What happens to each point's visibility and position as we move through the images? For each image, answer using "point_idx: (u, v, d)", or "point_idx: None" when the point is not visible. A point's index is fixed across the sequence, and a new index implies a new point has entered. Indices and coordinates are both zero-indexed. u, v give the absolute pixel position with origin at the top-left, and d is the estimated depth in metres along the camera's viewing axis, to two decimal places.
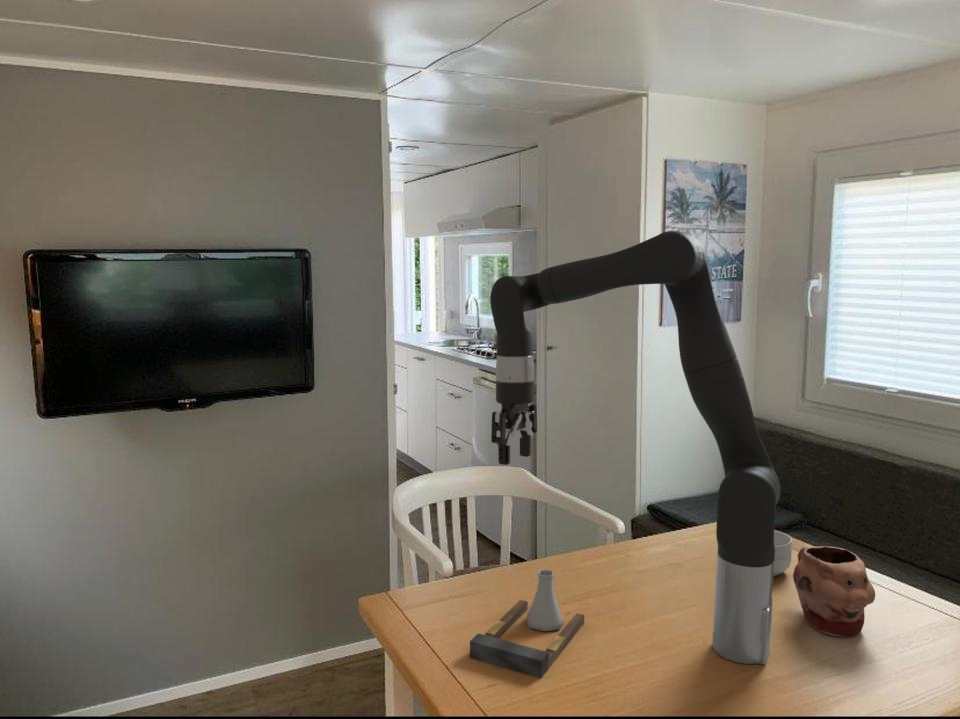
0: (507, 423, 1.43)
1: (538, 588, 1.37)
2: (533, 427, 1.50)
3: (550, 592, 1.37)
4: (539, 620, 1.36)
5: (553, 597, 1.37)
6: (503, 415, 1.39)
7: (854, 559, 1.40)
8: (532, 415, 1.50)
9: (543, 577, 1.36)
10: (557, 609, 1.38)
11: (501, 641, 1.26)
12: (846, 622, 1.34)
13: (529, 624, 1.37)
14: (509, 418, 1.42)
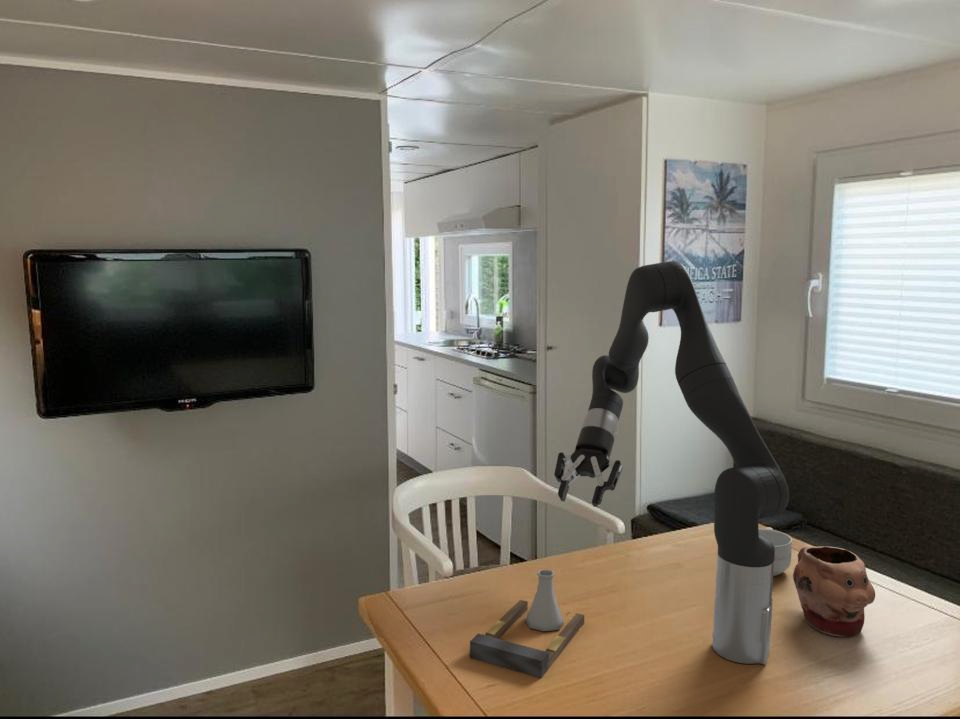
0: None
1: (538, 588, 1.37)
2: (608, 478, 1.52)
3: (550, 592, 1.37)
4: (539, 620, 1.36)
5: (553, 597, 1.37)
6: (559, 454, 1.59)
7: (854, 559, 1.40)
8: None
9: (543, 577, 1.36)
10: (557, 609, 1.38)
11: (501, 641, 1.26)
12: (846, 622, 1.34)
13: (529, 624, 1.37)
14: (571, 458, 1.58)
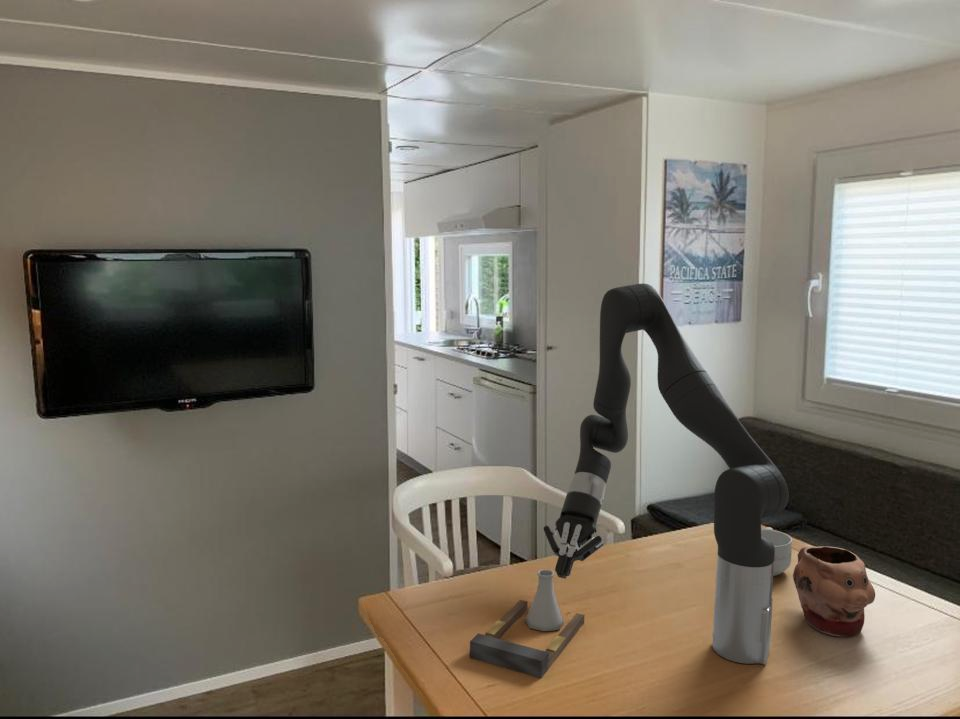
0: None
1: (538, 588, 1.37)
2: None
3: (550, 592, 1.37)
4: (539, 620, 1.36)
5: (553, 597, 1.37)
6: (544, 528, 1.52)
7: (854, 559, 1.40)
8: None
9: (543, 577, 1.36)
10: (557, 609, 1.38)
11: (501, 641, 1.26)
12: (846, 622, 1.34)
13: (529, 624, 1.37)
14: (556, 524, 1.52)
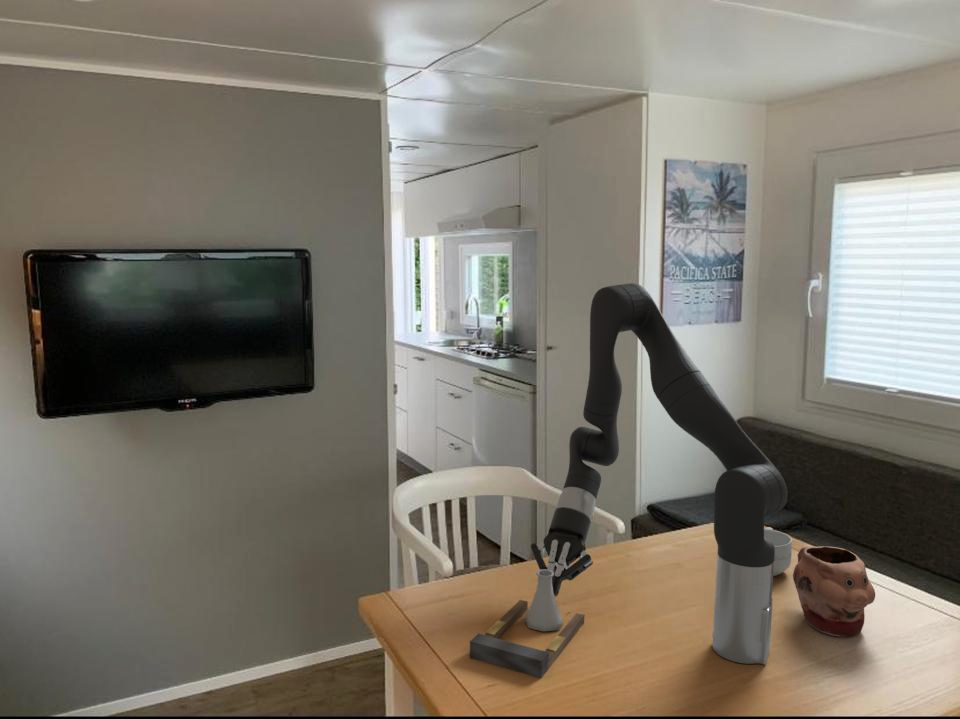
0: None
1: (537, 588, 1.37)
2: None
3: (549, 592, 1.36)
4: (539, 620, 1.36)
5: (552, 597, 1.37)
6: (531, 546, 1.46)
7: (854, 559, 1.40)
8: None
9: (542, 577, 1.36)
10: (557, 609, 1.38)
11: (501, 641, 1.26)
12: (846, 622, 1.34)
13: (528, 624, 1.37)
14: (544, 542, 1.46)
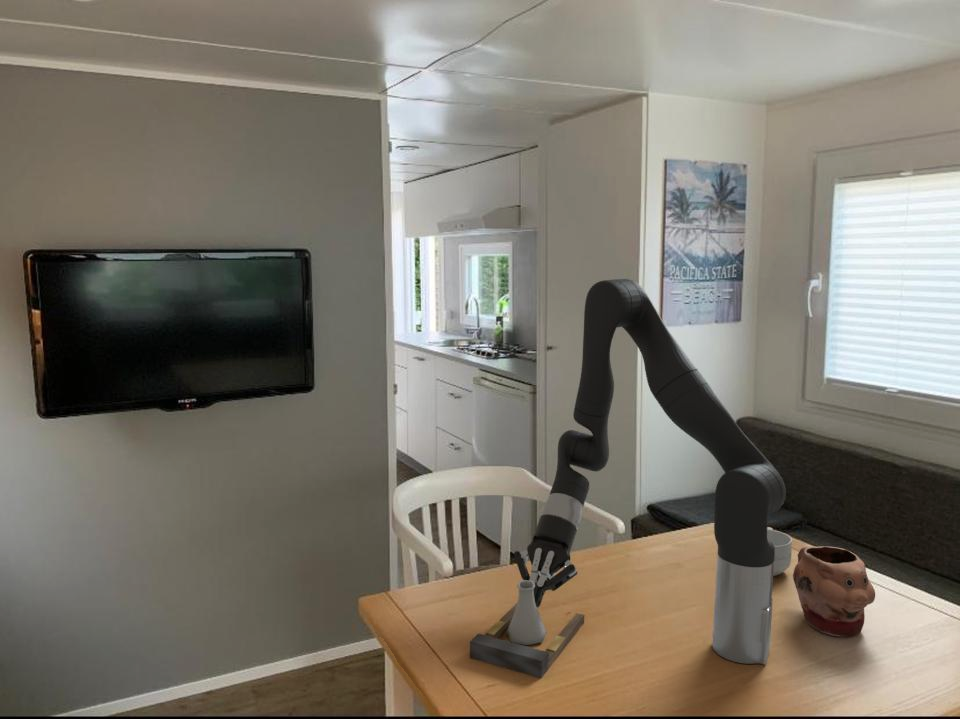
0: None
1: (519, 601, 1.32)
2: None
3: (532, 604, 1.31)
4: (522, 633, 1.31)
5: (535, 609, 1.32)
6: (514, 554, 1.41)
7: (854, 559, 1.40)
8: None
9: (523, 590, 1.30)
10: (540, 620, 1.33)
11: (501, 641, 1.26)
12: (846, 622, 1.34)
13: (511, 638, 1.32)
14: (527, 550, 1.41)
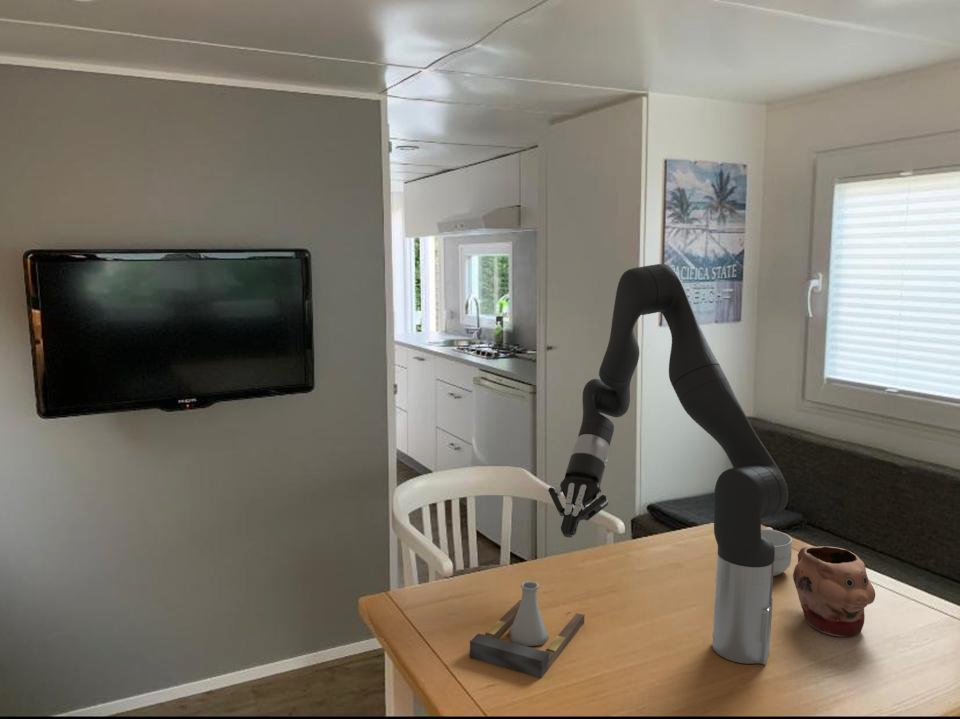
0: None
1: (522, 601, 1.32)
2: None
3: (534, 605, 1.31)
4: (522, 634, 1.31)
5: (537, 611, 1.32)
6: (549, 490, 1.53)
7: (854, 559, 1.40)
8: None
9: (526, 589, 1.31)
10: (542, 623, 1.32)
11: (501, 641, 1.26)
12: (846, 622, 1.34)
13: (512, 638, 1.32)
14: (560, 486, 1.53)
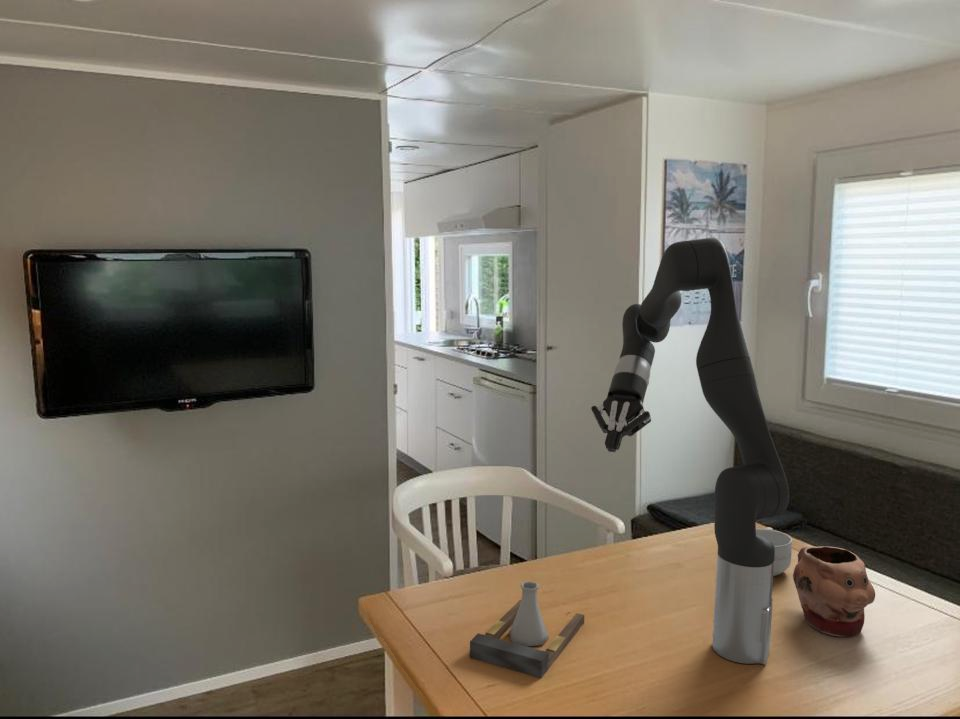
0: None
1: (521, 601, 1.32)
2: None
3: (534, 605, 1.31)
4: (522, 634, 1.31)
5: (537, 611, 1.32)
6: (592, 408, 1.55)
7: (854, 559, 1.40)
8: None
9: (526, 589, 1.31)
10: (542, 623, 1.32)
11: (501, 641, 1.26)
12: (846, 622, 1.34)
13: (512, 638, 1.32)
14: (603, 404, 1.55)
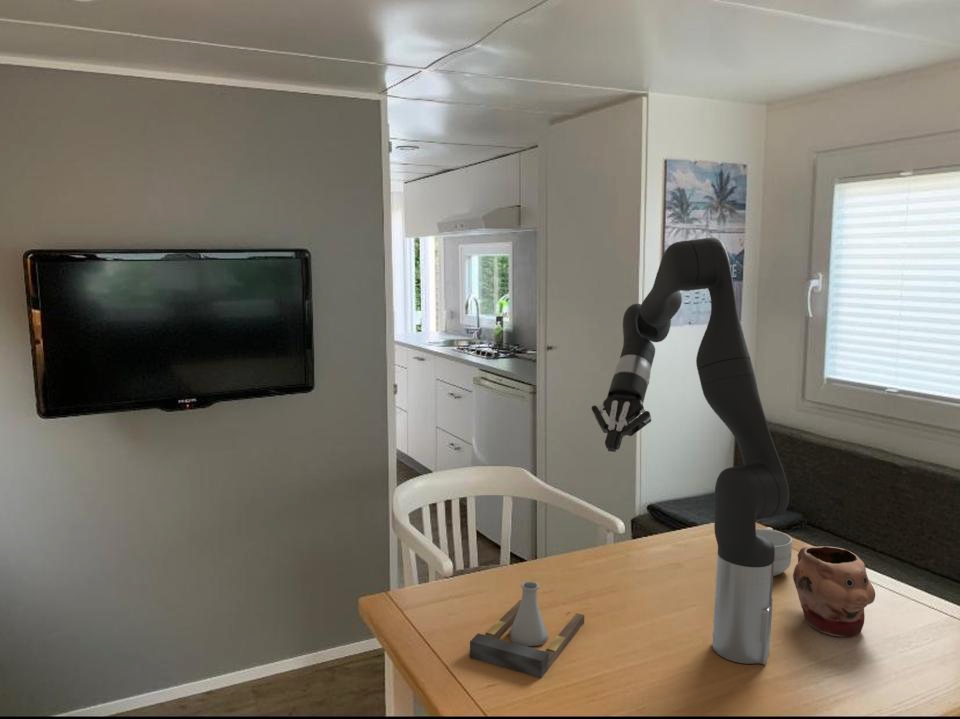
0: None
1: (522, 601, 1.32)
2: None
3: (534, 605, 1.31)
4: (522, 634, 1.31)
5: (537, 611, 1.32)
6: (592, 408, 1.55)
7: (854, 559, 1.40)
8: None
9: (526, 589, 1.31)
10: (542, 623, 1.32)
11: (501, 641, 1.26)
12: (846, 622, 1.34)
13: (512, 638, 1.32)
14: (603, 404, 1.55)
